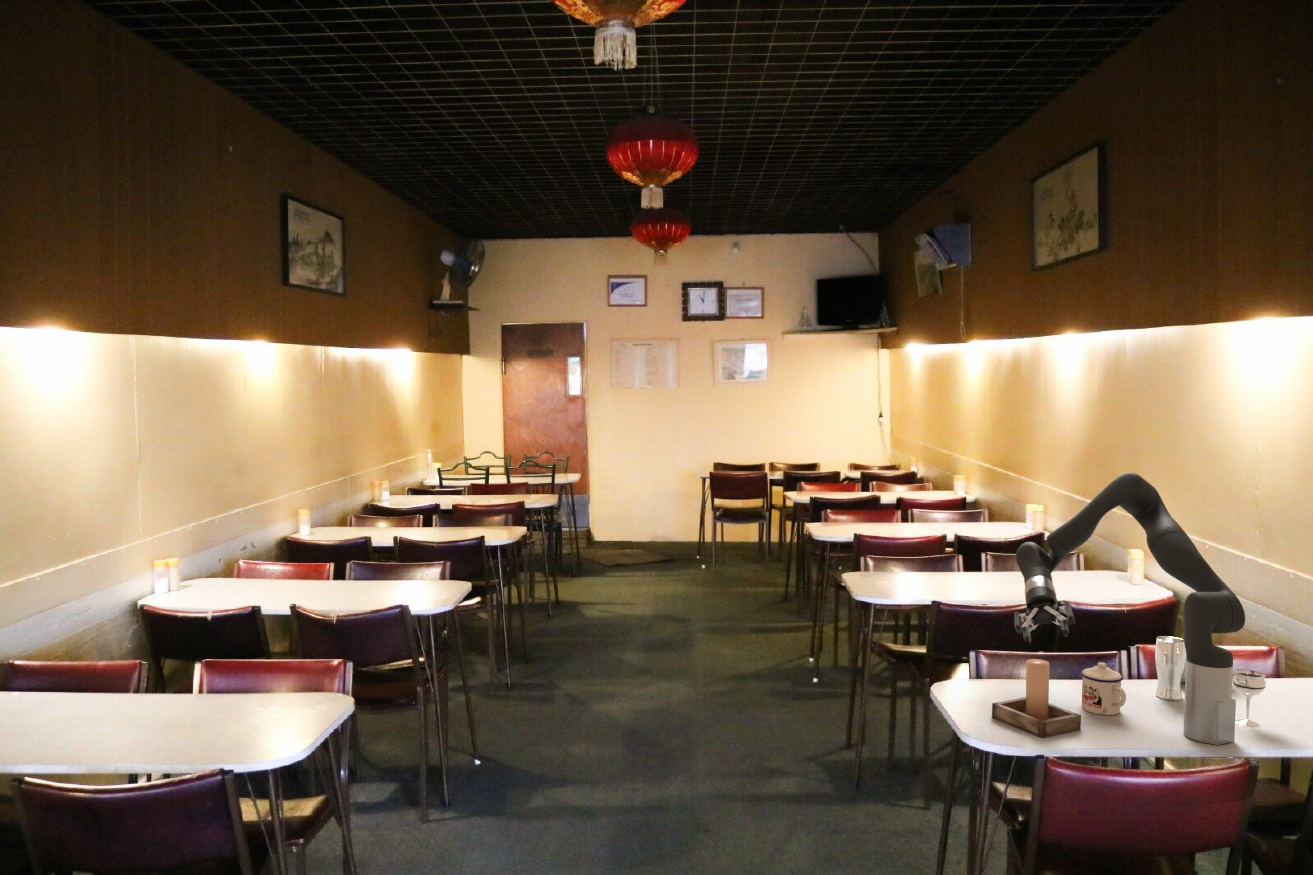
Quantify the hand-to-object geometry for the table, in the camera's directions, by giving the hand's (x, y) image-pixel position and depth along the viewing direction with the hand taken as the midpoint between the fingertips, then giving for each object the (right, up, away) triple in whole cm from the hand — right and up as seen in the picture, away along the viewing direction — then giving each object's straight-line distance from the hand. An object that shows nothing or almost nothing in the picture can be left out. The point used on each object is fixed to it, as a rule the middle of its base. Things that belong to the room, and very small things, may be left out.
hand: (1046, 637), depth 239 cm
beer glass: (+35, -17, +8) cm, 40 cm away
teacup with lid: (+13, -18, -3) cm, 22 cm away
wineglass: (+43, -18, -11) cm, 48 cm away
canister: (-7, -17, -12) cm, 22 cm away
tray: (-8, -18, -13) cm, 23 cm away
